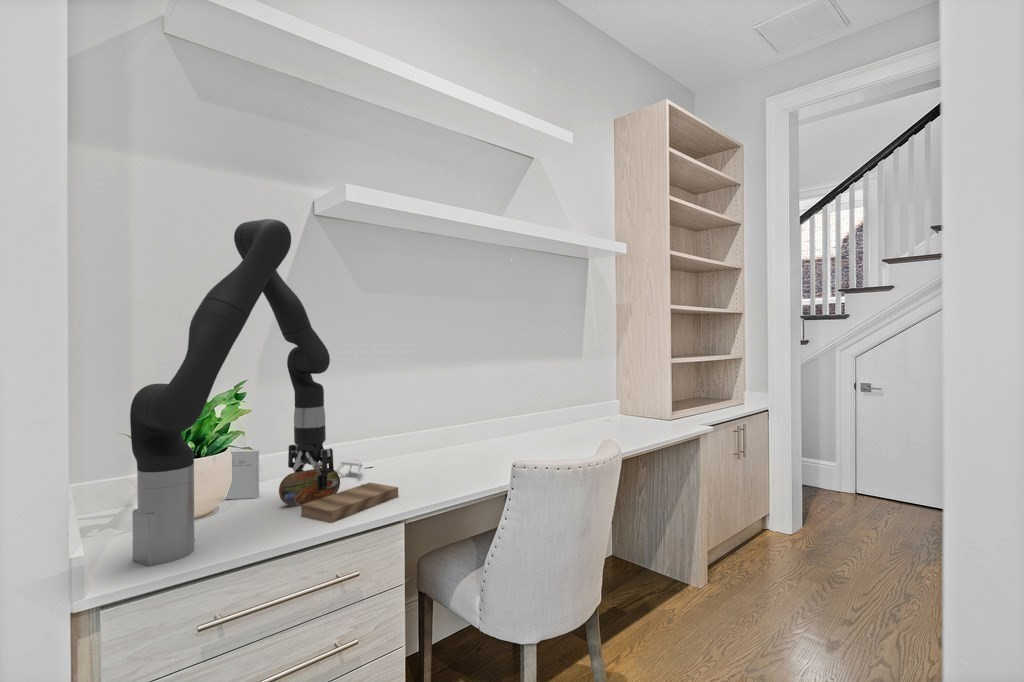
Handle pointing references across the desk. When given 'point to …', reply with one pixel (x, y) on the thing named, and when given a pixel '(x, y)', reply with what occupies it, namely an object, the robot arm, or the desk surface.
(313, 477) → the tin
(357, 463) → the origami figure
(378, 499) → the walnut riser
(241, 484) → the external hard drive
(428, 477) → the desk surface
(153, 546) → the robot arm
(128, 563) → the desk surface
